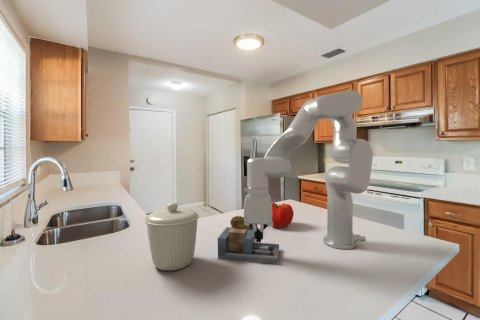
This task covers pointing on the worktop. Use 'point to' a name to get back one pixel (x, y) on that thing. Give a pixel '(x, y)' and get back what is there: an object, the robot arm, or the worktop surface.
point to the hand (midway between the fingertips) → (258, 241)
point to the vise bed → (256, 256)
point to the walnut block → (236, 239)
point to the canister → (172, 236)
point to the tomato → (281, 215)
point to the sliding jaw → (252, 243)
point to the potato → (239, 223)
